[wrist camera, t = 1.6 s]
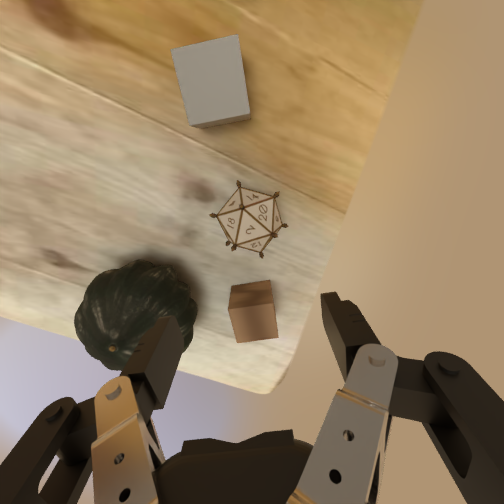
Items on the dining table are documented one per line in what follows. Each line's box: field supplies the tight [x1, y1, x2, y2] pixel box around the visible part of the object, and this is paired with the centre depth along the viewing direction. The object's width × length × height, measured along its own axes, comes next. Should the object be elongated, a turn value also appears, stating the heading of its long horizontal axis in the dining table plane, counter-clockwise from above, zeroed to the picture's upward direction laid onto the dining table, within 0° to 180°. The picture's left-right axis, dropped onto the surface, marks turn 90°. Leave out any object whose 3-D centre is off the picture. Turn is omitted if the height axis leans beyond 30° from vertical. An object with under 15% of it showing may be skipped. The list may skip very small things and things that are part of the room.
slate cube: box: [170, 34, 251, 129], centre depth 25 cm, size 6×6×6 cm
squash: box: [74, 260, 197, 371], centre depth 33 cm, size 14×15×15 cm
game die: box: [210, 180, 288, 259], centre depth 30 cm, size 9×8×10 cm
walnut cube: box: [228, 280, 279, 343], centre depth 36 cm, size 6×6×6 cm
